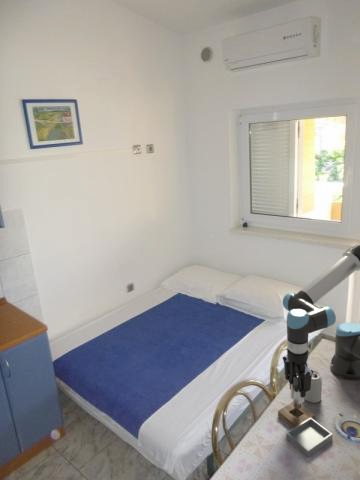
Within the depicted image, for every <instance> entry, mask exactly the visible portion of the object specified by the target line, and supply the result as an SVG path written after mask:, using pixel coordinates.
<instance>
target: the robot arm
mask: <svg viewBox="0 0 360 480" xmlns="http://www.w3.org/2000/svg"><path fill="white" fill-rule="evenodd" d="M356 271H358V272H359V271H360V242H359V243H357V244H354V245H352V246H351V247H349V248H348V249H346V251H345V252H343V253H342V257H340V259H338V260H337V261H335V262H334V263H333V264H332V265H331V266H329V267H328V268H327V269H326V270H324V271H323V272H322V273H320V274H319V275H318V276H316V278H314V279H313V280H312V281H310V282H309V283H308V284H307V285H306V286H304V287H303V288H301V289H300V290H299V291H298V292H297V293H294V292H288V293H286V294H285V295H284V296H283V298H282V307H284V309H285V310H287V311H288V312H287V315H286V341H287V342H286V348H287V349H286V353H287V354H286V355H285V356H283V357H282V361H283V365H284V366H283V367H284V376H285V377H284V378H285V380H286V381H288V383H289V390H290V399H292V400H293V376H294V375H295V374H297V375H298V380H299V388H300V389H298V404H301V405H302V404H303V403H304V402H305V398H304V397H305V396H306V392H307V391H309V390H310V387H311V378H312V374H313V369H310V368H309V366H308V358H309V334H311V333H315V332H317V331H320V330H323V329H328V327H331V326H334V324H335V323H336V322H337V321H336V320H337V317H336V314H335V311H334V310H333V308H331V307H330V306H326V305H325V306H320V307H318V306H316V305H315V304H316V303H317V302H319V301H320V300H321V299H322V298H323V297H325V296H326V295H327V294H328V293H330V292H331V291H332V290H333V289H334V288H335V287H337V286H339V285H340V284H341V283H342V282H343V281H345V280H346V279H347V278H349V276H351V275H352V274H354V273H355V272H356ZM334 340H335V342H334V343H335V345H334V347H335V348H334V349H335V350H334V354H333V356H332V358H331V360H330V365H329V368H330V371H331V372H332V373H333V374H334V375H336V376H338V377H339V378H342V379H345V380H356V381H357V380H360V324H359V323H355V322H343V323H341V324H339V325H337V327H336V329H335V339H334Z"/></svg>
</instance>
